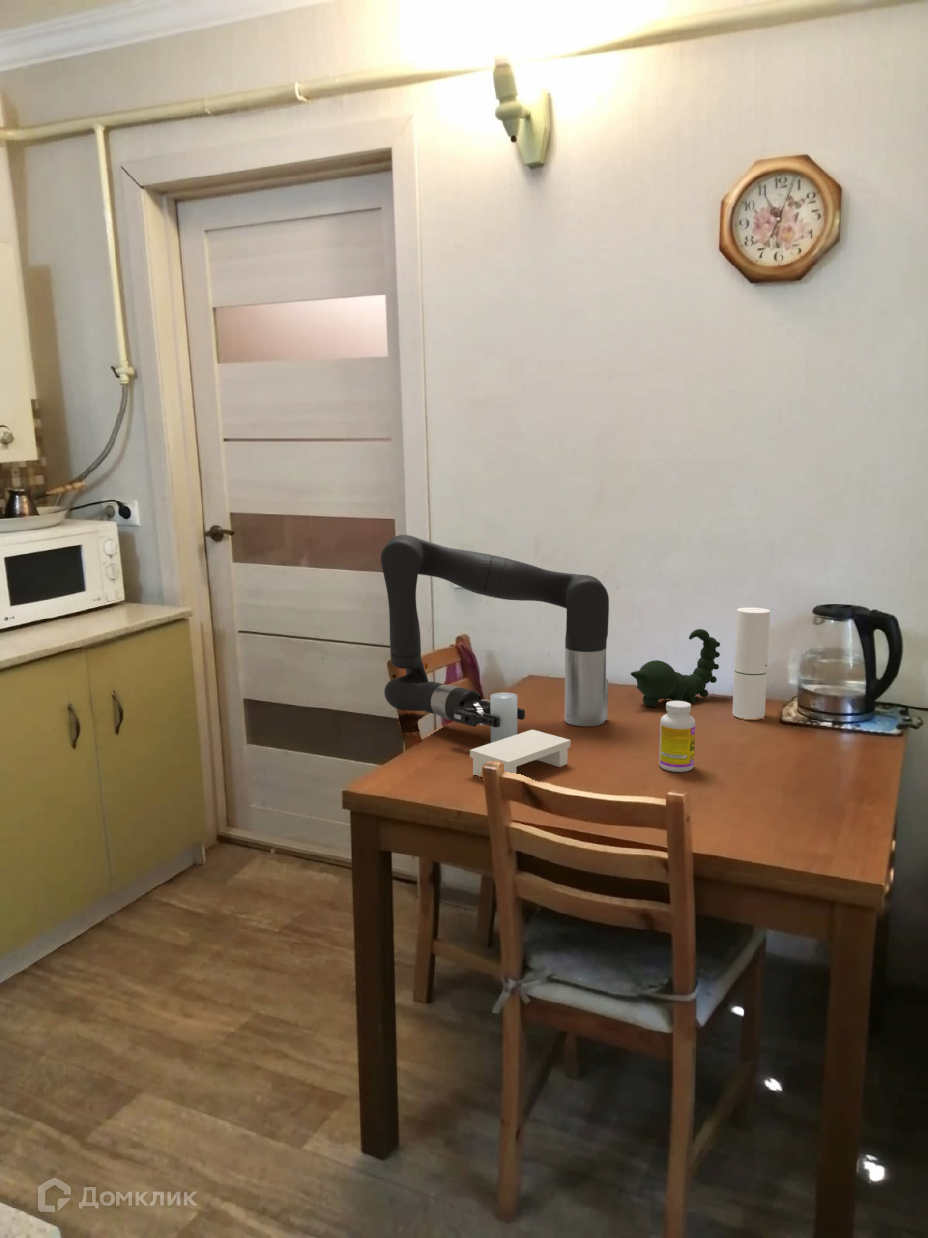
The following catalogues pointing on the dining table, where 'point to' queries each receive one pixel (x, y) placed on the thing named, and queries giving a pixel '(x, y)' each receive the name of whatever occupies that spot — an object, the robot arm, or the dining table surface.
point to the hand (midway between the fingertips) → (511, 718)
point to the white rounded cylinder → (504, 715)
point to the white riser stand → (522, 751)
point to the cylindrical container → (751, 662)
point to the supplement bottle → (677, 737)
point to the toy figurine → (678, 675)
